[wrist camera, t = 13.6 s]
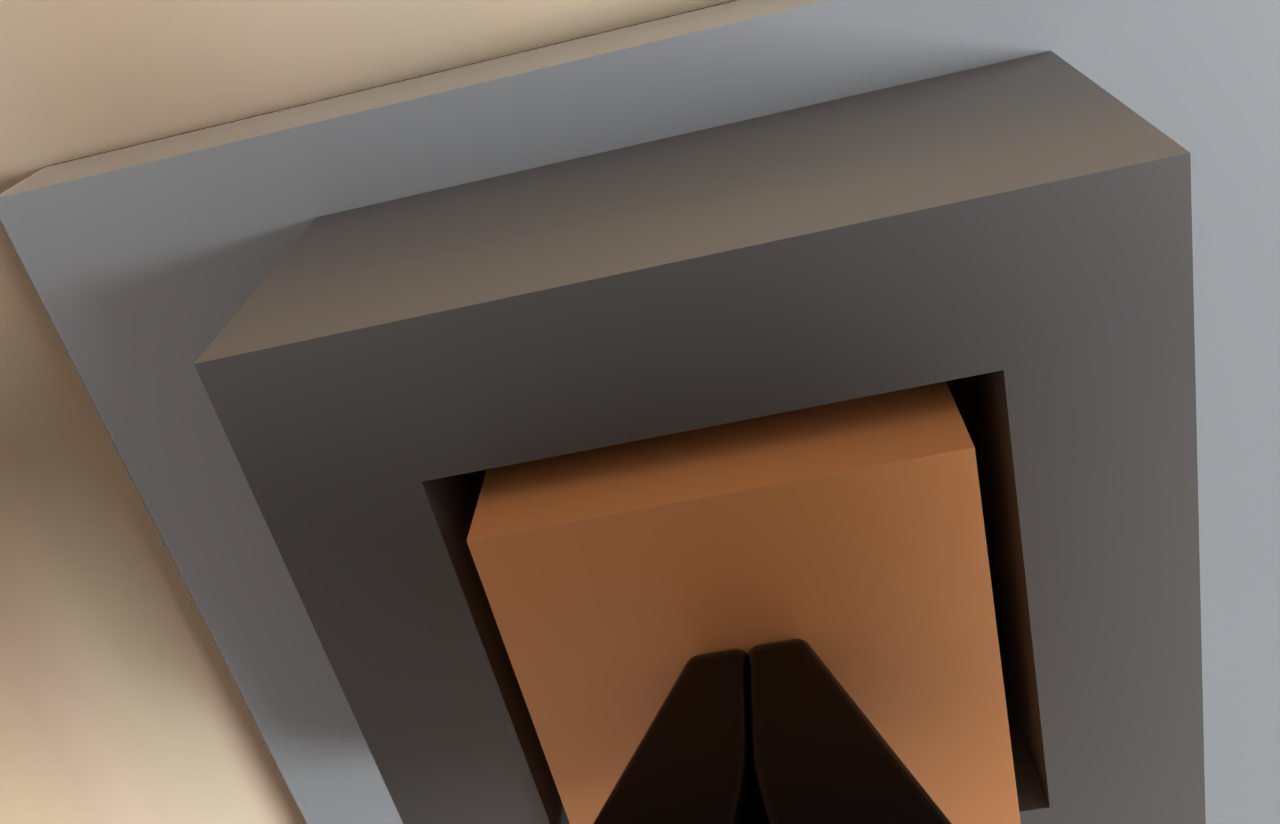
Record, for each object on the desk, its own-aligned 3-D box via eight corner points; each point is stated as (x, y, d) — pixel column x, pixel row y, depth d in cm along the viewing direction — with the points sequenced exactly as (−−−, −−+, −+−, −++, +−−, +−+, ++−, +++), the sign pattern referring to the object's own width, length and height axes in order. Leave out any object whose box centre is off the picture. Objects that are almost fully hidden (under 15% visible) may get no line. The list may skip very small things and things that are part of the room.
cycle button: (944, 587, 12) (1020, 823, 9) (610, 644, 12) (591, 883, 10) (899, 273, 10) (975, 448, 8) (519, 351, 11) (466, 540, 8)
